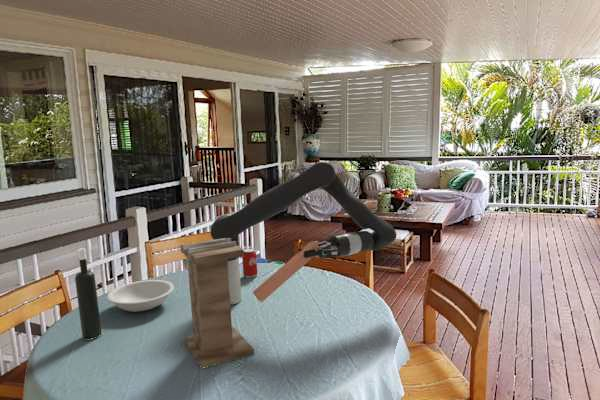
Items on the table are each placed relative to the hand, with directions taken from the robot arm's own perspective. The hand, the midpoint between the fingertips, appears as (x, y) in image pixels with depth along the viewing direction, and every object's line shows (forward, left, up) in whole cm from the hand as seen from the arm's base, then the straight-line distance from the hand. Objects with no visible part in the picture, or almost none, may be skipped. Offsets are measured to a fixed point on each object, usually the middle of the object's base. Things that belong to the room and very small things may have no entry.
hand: (301, 253), depth 150 cm
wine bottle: (-31, -63, -25) cm, 75 cm away
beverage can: (-56, +4, -25) cm, 62 cm away
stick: (0, -5, -6) cm, 8 cm away
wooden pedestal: (0, -30, -25) cm, 39 cm away
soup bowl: (-47, -44, -25) cm, 69 cm away
